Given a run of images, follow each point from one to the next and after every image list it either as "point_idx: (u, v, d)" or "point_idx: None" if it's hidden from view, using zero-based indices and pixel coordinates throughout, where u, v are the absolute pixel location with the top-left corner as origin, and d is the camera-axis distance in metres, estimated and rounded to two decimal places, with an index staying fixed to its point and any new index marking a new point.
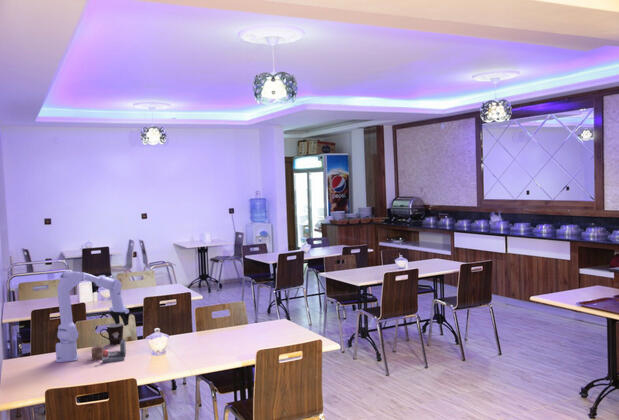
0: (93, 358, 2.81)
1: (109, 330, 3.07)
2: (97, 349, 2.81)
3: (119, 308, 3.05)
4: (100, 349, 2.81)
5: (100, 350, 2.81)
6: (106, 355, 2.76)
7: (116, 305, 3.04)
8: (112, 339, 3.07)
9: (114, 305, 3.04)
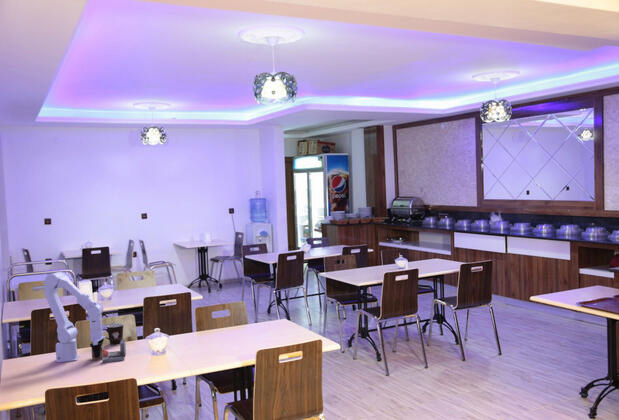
0: (93, 358, 2.81)
1: (109, 330, 3.07)
2: None
3: (93, 337, 2.80)
4: None
5: (100, 350, 2.81)
6: (106, 355, 2.76)
7: (91, 333, 2.81)
8: (112, 339, 3.07)
9: (90, 332, 2.81)
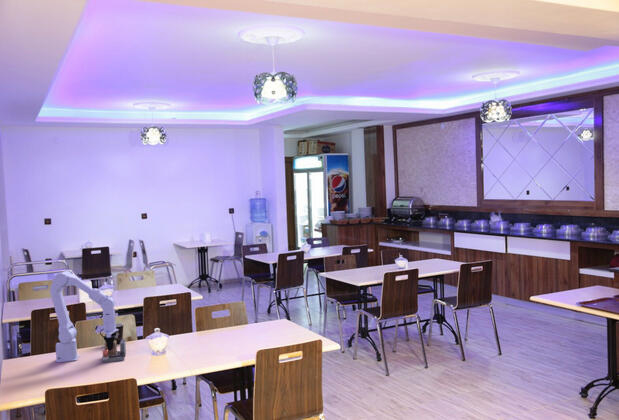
0: None
1: None
2: None
3: (106, 330, 2.83)
4: (113, 344, 2.84)
5: (113, 345, 2.84)
6: (106, 355, 2.76)
7: (104, 326, 2.83)
8: None
9: None
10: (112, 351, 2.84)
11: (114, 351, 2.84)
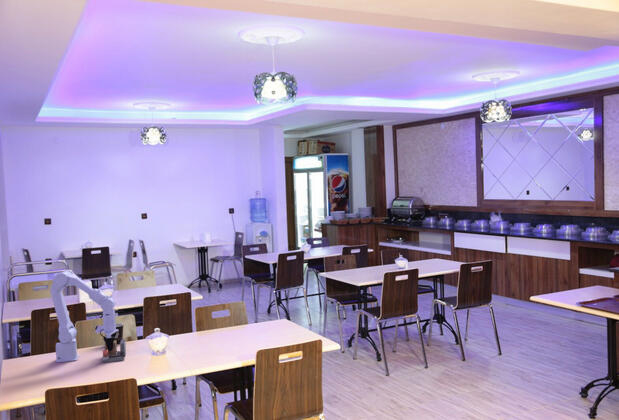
0: None
1: None
2: None
3: (106, 330, 2.83)
4: (113, 344, 2.84)
5: (113, 345, 2.84)
6: (106, 355, 2.76)
7: (104, 326, 2.83)
8: None
9: None
10: (112, 351, 2.84)
11: (114, 351, 2.84)
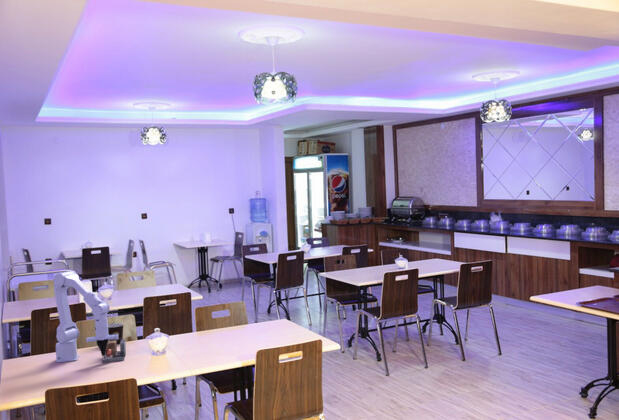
0: None
1: (109, 330, 3.07)
2: (110, 344, 2.83)
3: None
4: (113, 344, 2.84)
5: (113, 345, 2.84)
6: (109, 355, 2.76)
7: None
8: None
9: None
10: (112, 351, 2.84)
11: (114, 351, 2.84)
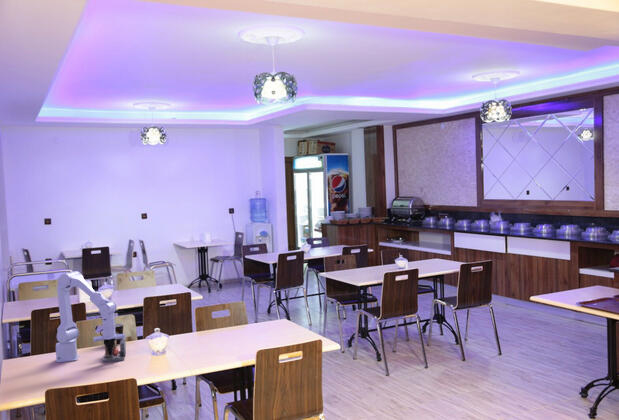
0: (106, 353, 2.83)
1: None
2: None
3: None
4: None
5: None
6: (116, 354, 2.77)
7: None
8: None
9: None
10: (112, 351, 2.84)
11: None
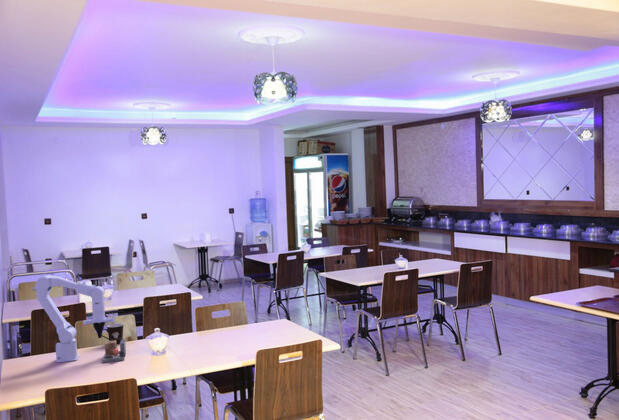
0: (106, 353, 2.83)
1: (109, 330, 3.07)
2: (110, 344, 2.83)
3: None
4: (113, 344, 2.84)
5: (113, 345, 2.84)
6: (116, 354, 2.77)
7: None
8: (112, 339, 3.07)
9: None
10: (112, 351, 2.84)
11: None
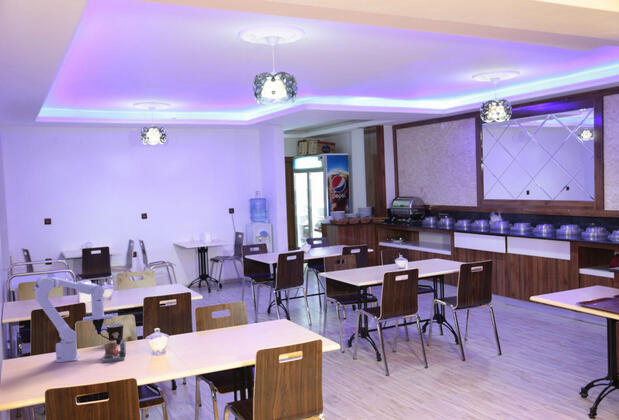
0: (106, 353, 2.83)
1: (109, 330, 3.07)
2: (110, 344, 2.83)
3: None
4: (113, 344, 2.84)
5: (113, 345, 2.84)
6: (116, 354, 2.77)
7: None
8: (112, 339, 3.07)
9: None
10: (112, 351, 2.84)
11: None
